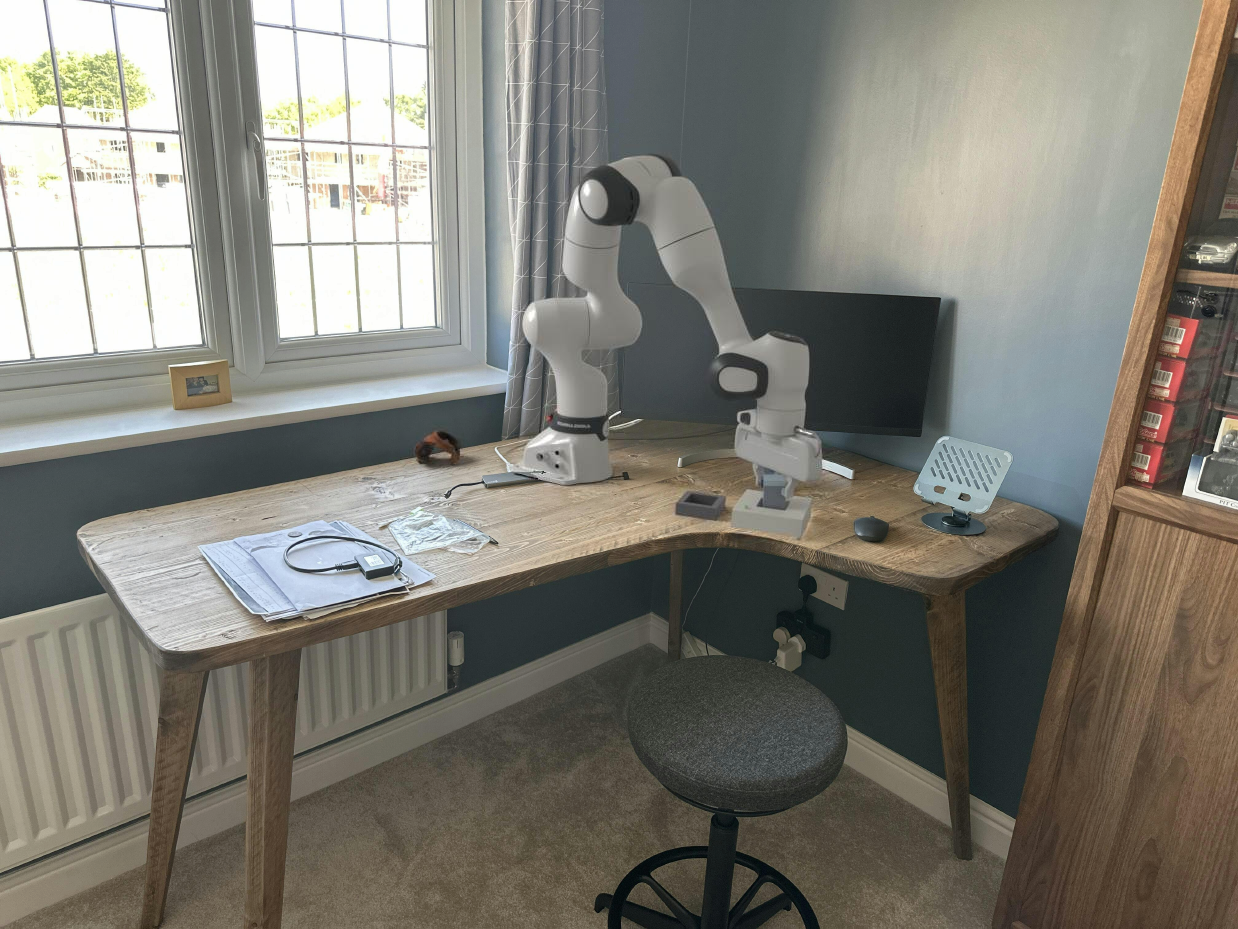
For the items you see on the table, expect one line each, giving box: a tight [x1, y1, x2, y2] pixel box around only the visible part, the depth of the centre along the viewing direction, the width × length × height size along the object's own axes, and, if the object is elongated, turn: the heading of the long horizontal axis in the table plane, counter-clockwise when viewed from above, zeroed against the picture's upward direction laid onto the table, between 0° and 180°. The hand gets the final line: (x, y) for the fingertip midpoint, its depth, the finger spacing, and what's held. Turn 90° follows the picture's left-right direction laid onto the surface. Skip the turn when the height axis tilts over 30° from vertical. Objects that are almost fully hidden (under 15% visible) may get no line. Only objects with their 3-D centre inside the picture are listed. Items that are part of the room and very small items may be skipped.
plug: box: [762, 474, 786, 511], centre depth 158 cm, size 4×4×8 cm
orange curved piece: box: [413, 429, 463, 465], centre depth 191 cm, size 12×10×8 cm
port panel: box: [730, 489, 813, 541], centre depth 159 cm, size 13×13×4 cm
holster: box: [674, 490, 727, 522], centre depth 164 cm, size 8×8×3 cm
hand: (773, 491), depth 158 cm, fingers closed on plug, 6 cm apart
